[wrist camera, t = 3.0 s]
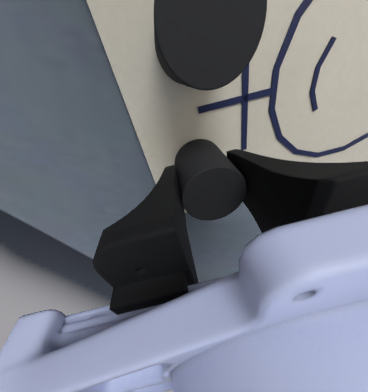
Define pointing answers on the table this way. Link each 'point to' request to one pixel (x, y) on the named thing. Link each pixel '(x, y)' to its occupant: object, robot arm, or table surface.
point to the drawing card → (251, 85)
